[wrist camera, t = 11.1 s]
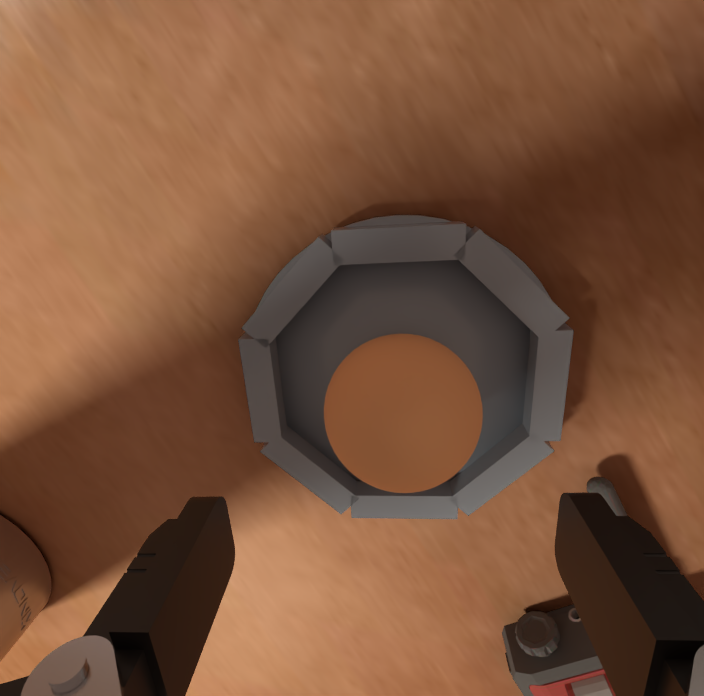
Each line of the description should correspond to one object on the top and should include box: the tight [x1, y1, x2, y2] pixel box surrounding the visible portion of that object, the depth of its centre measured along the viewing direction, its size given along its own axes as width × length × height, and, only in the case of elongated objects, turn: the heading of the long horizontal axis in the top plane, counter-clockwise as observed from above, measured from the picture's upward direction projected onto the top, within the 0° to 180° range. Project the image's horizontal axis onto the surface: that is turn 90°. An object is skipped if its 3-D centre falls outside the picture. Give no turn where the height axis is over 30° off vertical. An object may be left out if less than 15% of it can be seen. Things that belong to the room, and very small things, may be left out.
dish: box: [238, 215, 574, 519], centre depth 18 cm, size 13×13×2 cm
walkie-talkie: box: [502, 477, 627, 696], centre depth 22 cm, size 9×4×20 cm
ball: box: [324, 334, 483, 493], centre depth 16 cm, size 6×6×6 cm
